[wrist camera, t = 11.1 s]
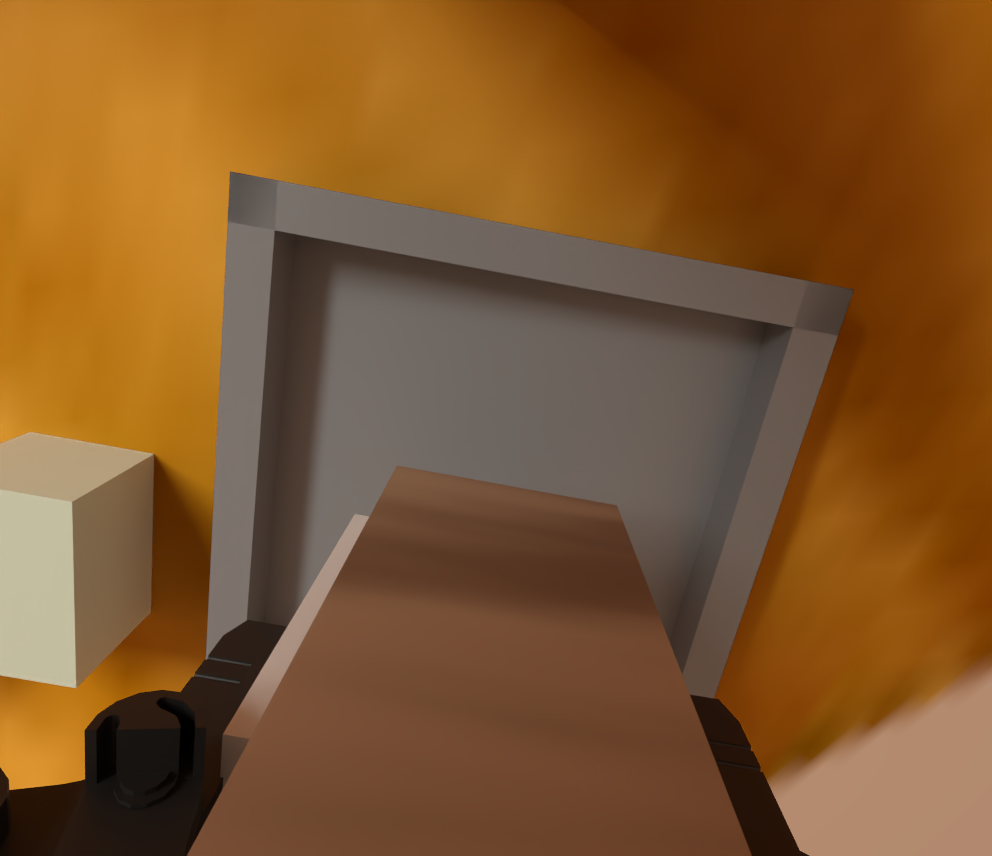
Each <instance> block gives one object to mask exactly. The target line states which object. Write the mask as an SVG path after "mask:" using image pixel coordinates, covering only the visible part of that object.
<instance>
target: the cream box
mask: <svg viewBox="0 0 992 856" xmlns="http://www.w3.org/2000/svg"><path fill="white" fill-rule="evenodd" d="M153 489H154V454H152V453H146V452H141V451H135V450H129V449H124V448H118V447H112V446H107V445H101V444H96V443H90V442H84V441H79V440H73V439H67V438H62V437H56V436H51V435H45V434H39V433H34V432H29V433H26V434H24V435H21V436H19V437H16V438H14V439H11V440H8V441H6V442H3V443H1V444H0V675H1V676H7V677H13V678H19V679H25V680H31V681H37V682H42V683H48V684H54V685H60V686H66V687H72V688H77V687H78V686H79V685H80V684H81V683H82V682H83V681H84V680H85V679H86V678H87V677H88V676H89V675H90V674H91V673H92V672H93V671H94V670H95V669H96V668H97V667H98V666H99V665H100V664H101V663H102V661H103V660H104V659H105V658H106V657H107V656H108V655H109V654H110V653H111V652H112V651H113V650H114V649H115V648H116V647H117V646H118V645H119V644H120V643H121V642H122V641H123V640H124V639H125V638H126V637H127V636H128V635H129V634H130V633H131V632H132V631H133V630H134V629H135V628H136V627H137V626H138V625H139V624H140V623H141V622H142V621H143V620H144V619H145V618H146V617H147V616H148V615H149V614H150V613H151V590H152V539H153Z"/></svg>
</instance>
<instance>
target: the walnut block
mask: <svg viewBox="0 0 992 856" xmlns="http://www.w3.org/2000/svg"><path fill="white" fill-rule="evenodd" d="M187 856H752V855H751V852H750V850H749V847H748V845H747V842H746V839H745V837H744V834H743V832H742V829H741V826H740V824H739V821H738V819H737V816H736V813H735V811H734V808H733V806H732V803H731V800H730V798H729V795H728V793H727V790H726V787H725V785H724V782H723V780H722V777H721V774H720V772H719V769H718V767H717V764H716V761H715V759H714V756H713V754H712V751H711V748H710V746H709V743H708V741H707V738H706V735H705V733H704V730H703V728H702V725H701V722H700V720H699V717H698V715H697V712H696V710H695V707H694V704H693V702H692V699H691V697H690V694H689V691H688V689H687V686H686V684H685V681H684V678H683V676H682V673H681V671H680V668H679V665H678V663H677V660H676V658H675V655H674V652H673V650H672V647H671V645H670V642H669V639H668V637H667V634H666V632H665V629H664V626H663V624H662V621H661V619H660V616H659V613H658V611H657V608H656V606H655V603H654V600H653V598H652V595H651V593H650V590H649V587H648V585H647V582H646V580H645V577H644V574H643V572H642V569H641V567H640V564H639V561H638V559H637V556H636V554H635V551H634V548H633V546H632V543H631V541H630V538H629V535H628V533H627V530H626V528H625V525H624V522H623V520H622V517H621V515H620V512H619V510H618V507H617V505H613V504H607V503H602V502H596V501H591V500H585V499H579V498H574V497H568V496H563V495H557V494H552V493H546V492H541V491H535V490H530V489H524V488H519V487H513V486H508V485H502V484H497V483H491V482H486V481H480V480H475V479H469V478H463V477H458V476H452V475H447V474H441V473H436V472H430V471H425V470H419V469H414V468H408V467H403V466H396V468H395V470H394V472H393V474H392V475H391V477H390V479H389V481H388V483H387V485H386V487H385V488H384V490H383V492H382V494H381V496H380V498H379V500H378V501H377V503H376V505H375V507H374V509H373V511H372V513H371V514H370V516H369V518H368V520H367V522H366V524H365V526H364V528H363V529H362V531H361V533H360V535H359V537H358V539H357V541H356V542H355V544H354V546H353V548H352V550H351V552H350V554H349V555H348V557H347V559H346V561H345V563H344V565H343V567H342V568H341V570H340V572H339V574H338V576H337V578H336V580H335V581H334V583H333V585H332V587H331V589H330V591H329V593H328V594H327V596H326V598H325V600H324V602H323V604H322V606H321V607H320V609H319V611H318V613H317V615H316V617H315V619H314V620H313V622H312V624H311V626H310V628H309V630H308V632H307V633H306V635H305V637H304V639H303V641H302V643H301V645H300V646H299V648H298V650H297V652H296V654H295V656H294V658H293V659H292V661H291V663H290V665H289V667H288V669H287V671H286V672H285V674H284V676H283V678H282V680H281V682H280V684H279V685H278V687H277V689H276V691H275V693H274V695H273V697H272V698H271V700H270V702H269V704H268V706H267V708H266V710H265V711H264V713H263V715H262V717H261V719H260V721H259V723H258V725H257V726H256V728H255V730H254V732H253V734H252V736H251V738H250V739H249V741H248V743H247V745H246V747H245V749H244V751H243V752H242V754H241V756H240V758H239V760H238V762H237V764H236V765H235V767H234V769H233V771H232V773H231V775H230V777H229V778H228V780H227V782H226V784H225V786H224V788H223V790H222V791H221V793H220V795H219V797H218V799H217V801H216V803H215V804H214V806H213V808H212V810H211V812H210V814H209V816H208V817H207V819H206V821H205V823H204V825H203V827H202V829H201V830H200V832H199V834H198V836H197V838H196V840H195V842H194V843H193V845H192V847H191V849H190V851H189V853H188V855H187Z"/></svg>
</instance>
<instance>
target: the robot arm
mask: <svg viewBox="0 0 992 856" xmlns="http://www.w3.org/2000/svg"><path fill="white" fill-rule="evenodd" d="M368 518H369V516H363V515H358V514H355V515H354V516H353V518H352V520H351V521H350V523H349V525H348V526H347V528H346V530H345V531H344V533H343V535H342V536H341V538H340V540H339V541H338V543H337V545H336V546H335V548H334V550H333V551H332V553H331V555H330V556H329V558H328V560H327V561H326V563H325V565H324V566H323V568H322V570H321V571H320V573H319V575H318V576H317V578H316V580H315V581H314V583H313V585H312V586H311V588H310V590H309V591H308V593H307V595H306V596H305V598H304V600H303V601H302V603H301V605H300V606H299V608H298V610H297V611H296V613H295V615H294V616H293V618H292V620H291V621H290V623H289V625H288V626H281V625H275V624H269V623H264V622H258V621H252V620H247V621H245V622H243V623H242V624H240V625H239V626H237V627H236V628H234V629H232V630H231V631H229V632H228V633H226V634H224V635H223V636H222V638H221V639H220V640H219V642H218V643H217V644H216V646H215V647H214V648H213V650H212V651H211V652H210V654H209V655H208V658H207V660H204V662H203V663H202V664H201V666H200V667H199V668H198V670H197V671H196V672H195V676H194V677H192V678H191V679H190V680H189V682H188V683H187V684H186V686H185V687H184V688H183V690H182V691H181V692H174V691H166V690H159V691H151V692H143V693H138V694H135V695H133V696H130V697H127V698H125V699H122V700H119V701H117V702H115V703H114V704H112V705H111V706H109V707H108V708H106V709H105V710H103V711H102V712H100V713H99V714H97V716H96V717H95V718H94V719H93V721H92V722H91V723H90V724H89V726H88V727H87V728H86V729H85V780H82V781H77V782H72V783H67V784H61V785H52V786H43V787H34V788H25V789H16V790H9V779H8V778H7V777H6V775H5V774H4V772H3V771H2V769H1V768H0V856H187V855H188V853H189V851H190V849H191V847H192V845H193V843H194V842H195V840H196V838H197V836H198V834H199V832H200V830H201V829H202V827H203V825H204V823H205V821H206V819H207V817H208V816H209V814H210V812H211V810H212V808H213V806H214V804H215V803H216V801H217V799H218V797H219V795H220V793H221V791H222V790H223V788H224V786H225V784H226V782H227V780H228V778H229V777H230V775H231V773H232V771H233V769H234V767H235V765H236V764H237V762H238V760H239V758H240V756H241V754H242V752H243V751H244V749H245V747H246V745H247V743H248V741H249V739H250V738H251V736H252V734H253V732H254V730H255V728H256V726H257V725H258V723H259V721H260V719H261V717H262V715H263V713H264V711H265V710H266V708H267V706H268V704H269V702H270V700H271V698H272V697H273V695H274V693H275V691H276V689H277V687H278V685H279V684H280V682H281V680H282V678H283V676H284V674H285V672H286V671H287V669H288V667H289V665H290V663H291V661H292V659H293V658H294V656H295V654H296V652H297V650H298V648H299V646H300V645H301V643H302V641H303V639H304V637H305V635H306V633H307V632H308V630H309V628H310V626H311V624H312V622H313V620H314V619H315V617H316V615H317V613H318V611H319V609H320V607H321V606H322V604H323V602H324V600H325V598H326V596H327V594H328V593H329V591H330V589H331V587H332V585H333V583H334V581H335V580H336V578H337V576H338V574H339V572H340V570H341V568H342V567H343V565H344V563H345V561H346V559H347V557H348V555H349V554H350V552H351V550H352V548H353V546H354V544H355V542H356V541H357V539H358V537H359V535H360V533H361V531H362V529H363V528H364V526H365V524H366V522H367V520H368ZM690 697H691V699H692V702H693V704H694V707H695V710H696V712H697V715H698V717H699V720H700V722H701V725H702V728H703V730H704V733H705V735H706V738H707V741H708V743H709V746H710V748H711V751H712V754H713V756H714V759H715V761H716V764H717V767H718V769H719V772H720V774H721V777H722V780H723V782H724V785H725V787H726V790H727V793H728V795H729V798H730V800H731V803H732V806H733V808H734V811H735V813H736V816H737V819H738V821H739V824H740V826H741V829H742V832H743V834H744V837H745V839H746V842H747V845H748V847H749V850H750V852H751V855H752V856H809V855H807V854H805V853H803V852H801V851H800V850H799V848H798V846H797V844H796V842H795V840H794V837H793V836H792V833H791V831H790V829H789V827H788V825H787V823H786V820H785V819H784V816H783V815H782V812H781V810H780V808H779V806H778V803H777V801H776V799H775V797H774V795H773V793H772V791H771V789H770V786H769V784H768V782H767V780H766V778H765V776H764V774H763V772H760V765H759V763H758V761H757V759H756V757H755V754H754V752H753V751H751V746H750V744H749V742H748V740H747V737H746V735H745V733H744V731H743V729H742V727H741V725H740V723H739V721H738V720H737V719H736V718H735V717H734V716H733V715H732V714H731V713H730V711H729V710H728V709H727V708H726V707H725V706H724V705H723V704H722V703H721V702H720V700H719V699H714V698H708V697H702V696H696V695H691V694H690Z"/></svg>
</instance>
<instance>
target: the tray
mask: <svg viewBox="0 0 992 856" xmlns="http://www.w3.org/2000/svg"><path fill="white" fill-rule="evenodd" d="M853 291H854V289H849V288H843V287H838V286H833V285H827V284H822V283H817V282H812V281H806V280H801V279H796V278H790V277H785V276H780V275H775V274H769V273H764V272H759V271H753V270H748V269H743V268H738V267H732V266H727V265H722V264H716V263H711V262H706V261H701V260H695V259H690V258H685V257H679V256H674V255H669V254H664V253H658V252H653V251H648V250H642V249H637V248H632V247H627V246H621V245H616V244H611V243H605V242H600V241H595V240H590V239H584V238H579V237H574V236H568V235H563V234H558V233H553V232H547V231H542V230H537V229H532V228H526V227H521V226H516V225H510V224H505V223H500V222H495V221H489V220H484V219H479V218H473V217H468V216H463V215H458V214H452V213H447V212H442V211H436V210H431V209H426V208H421V207H415V206H410V205H405V204H399V203H394V202H389V201H384V200H378V199H373V198H368V197H362V196H357V195H352V194H347V193H341V192H336V191H331V190H325V189H320V188H315V187H310V186H304V185H299V184H294V183H288V182H283V181H278V180H273V179H267V178H262V177H257V176H251V175H246V174H241V173H236V172H230V187H229V207H228V227H227V247H226V267H225V287H224V306H223V326H222V346H221V366H220V386H219V406H218V426H217V445H216V465H215V485H214V505H213V525H212V545H211V565H210V584H209V604H208V624H207V644H206V660H207V658H208V655H209V654H210V652H211V651H212V650H213V648H214V647H215V646H216V644H217V643H218V642H219V640H220V639H221V638H222V636H223V635H224V634H226V633H228V632H229V631H231V630H232V629H234V628H236V627H237V626H239V625H240V624H242V623H243V622H245V621H247V620H252V621H258V622H264V623H269V624H275V625H281V626H288V625H289V623H290V621H291V620H292V618H293V616H294V615H295V613H296V611H297V610H298V608H299V606H300V605H301V603H302V601H303V600H304V598H305V596H306V595H307V593H308V591H309V590H310V588H311V586H312V585H313V583H314V581H315V580H316V578H317V576H318V575H319V573H320V571H321V570H322V568H323V566H324V565H325V563H326V561H327V560H328V558H329V556H330V555H331V553H332V551H333V550H334V548H335V546H336V545H337V543H338V541H339V540H340V538H341V536H342V535H343V533H344V531H345V530H346V528H347V526H348V525H349V523H350V521H351V520H352V518H353V516H354V515H355V514H358V515H363V516H370V514H371V513H372V511H373V509H374V507H375V505H376V503H377V501H378V500H379V498H380V496H381V494H382V492H383V490H384V488H385V487H386V485H387V483H388V481H389V479H390V477H391V475H392V474H393V472H394V470H395V468H396V466H403V467H408V468H414V469H419V470H425V471H430V472H436V473H441V474H447V475H452V476H458V477H463V478H469V479H475V480H480V481H486V482H491V483H497V484H502V485H508V486H513V487H519V488H524V489H530V490H535V491H541V492H546V493H552V494H557V495H563V496H568V497H574V498H579V499H585V500H591V501H596V502H602V503H607V504H613V505H617V507H618V510H619V512H620V515H621V517H622V520H623V522H624V525H625V528H626V530H627V533H628V535H629V538H630V541H631V543H632V546H633V548H634V551H635V554H636V556H637V559H638V561H639V564H640V567H641V569H642V572H643V574H644V577H645V580H646V582H647V585H648V587H649V590H650V593H651V595H652V598H653V600H654V603H655V606H656V608H657V611H658V613H659V616H660V619H661V621H662V624H663V626H664V629H665V632H666V634H667V637H668V639H669V642H670V645H671V647H672V650H673V652H674V655H675V658H676V660H677V663H678V665H679V668H680V671H681V673H682V676H683V678H684V681H685V684H686V686H687V689H688V691H689V694H691V695H696V696H702V697H708V698H714V697H715V694H716V691H717V688H718V685H719V682H720V679H721V676H722V673H723V671H724V668H725V665H726V662H727V659H728V656H729V653H730V650H731V647H732V644H733V641H734V638H735V635H736V633H737V630H738V627H739V624H740V621H741V618H742V615H743V612H744V609H745V606H746V603H747V600H748V598H749V595H750V592H751V589H752V586H753V583H754V580H755V577H756V574H757V571H758V568H759V565H760V563H761V560H762V557H763V554H764V551H765V548H766V545H767V542H768V539H769V536H770V533H771V530H772V527H773V525H774V522H775V519H776V516H777V513H778V510H779V507H780V504H781V501H782V498H783V495H784V492H785V490H786V487H787V484H788V481H789V478H790V475H791V472H792V469H793V466H794V463H795V460H796V457H797V455H798V452H799V449H800V446H801V443H802V440H803V437H804V434H805V431H806V428H807V425H808V422H809V419H810V417H811V414H812V411H813V408H814V405H815V402H816V399H817V396H818V393H819V390H820V387H821V384H822V382H823V379H824V376H825V373H826V370H827V367H828V364H829V361H830V358H831V355H832V352H833V349H834V346H835V344H836V341H837V338H838V335H839V332H840V329H841V326H842V323H843V320H844V317H845V314H846V311H847V309H848V306H849V303H850V300H851V297H852V294H853Z"/></svg>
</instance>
